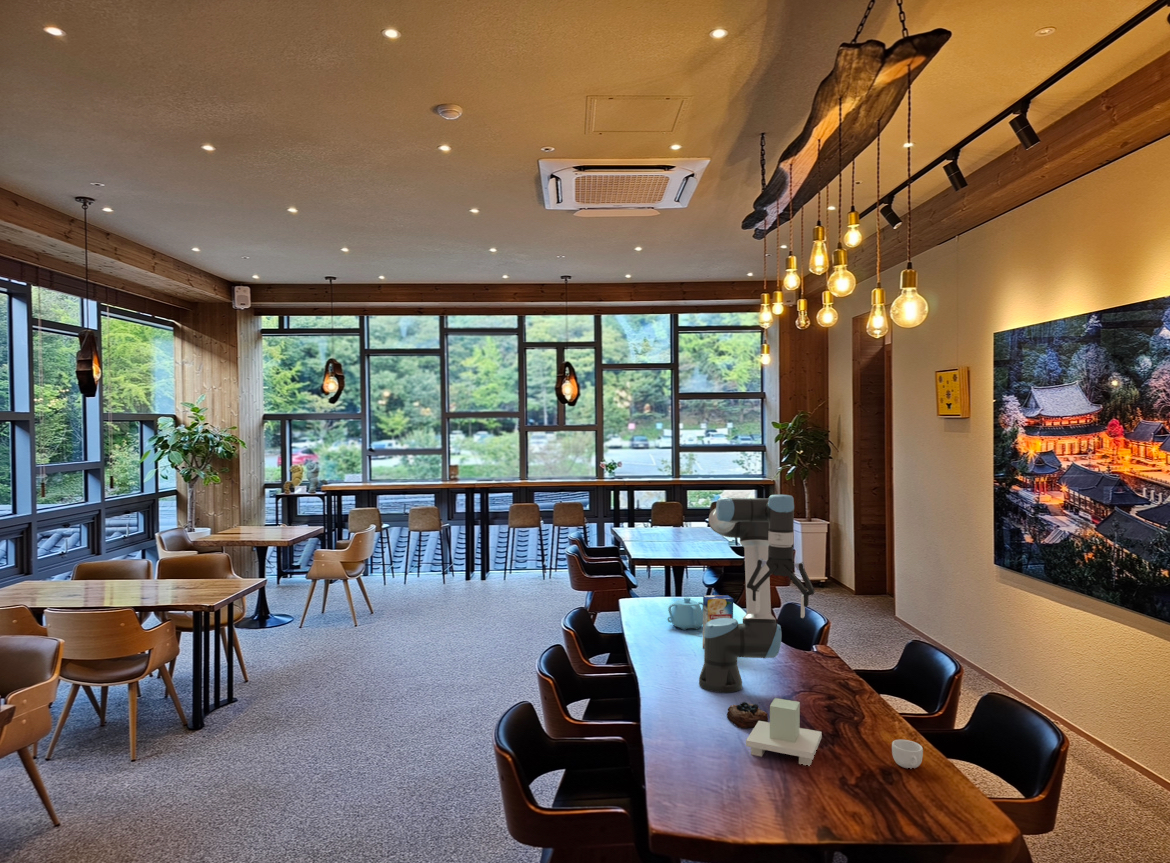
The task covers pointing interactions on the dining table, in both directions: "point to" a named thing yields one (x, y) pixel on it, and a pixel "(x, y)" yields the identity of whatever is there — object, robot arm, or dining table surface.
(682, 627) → the decorative pot
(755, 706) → the pastry
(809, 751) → the serving stand
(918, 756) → the teacup
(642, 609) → the dining table surface
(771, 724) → the sage block
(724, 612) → the beverage box
